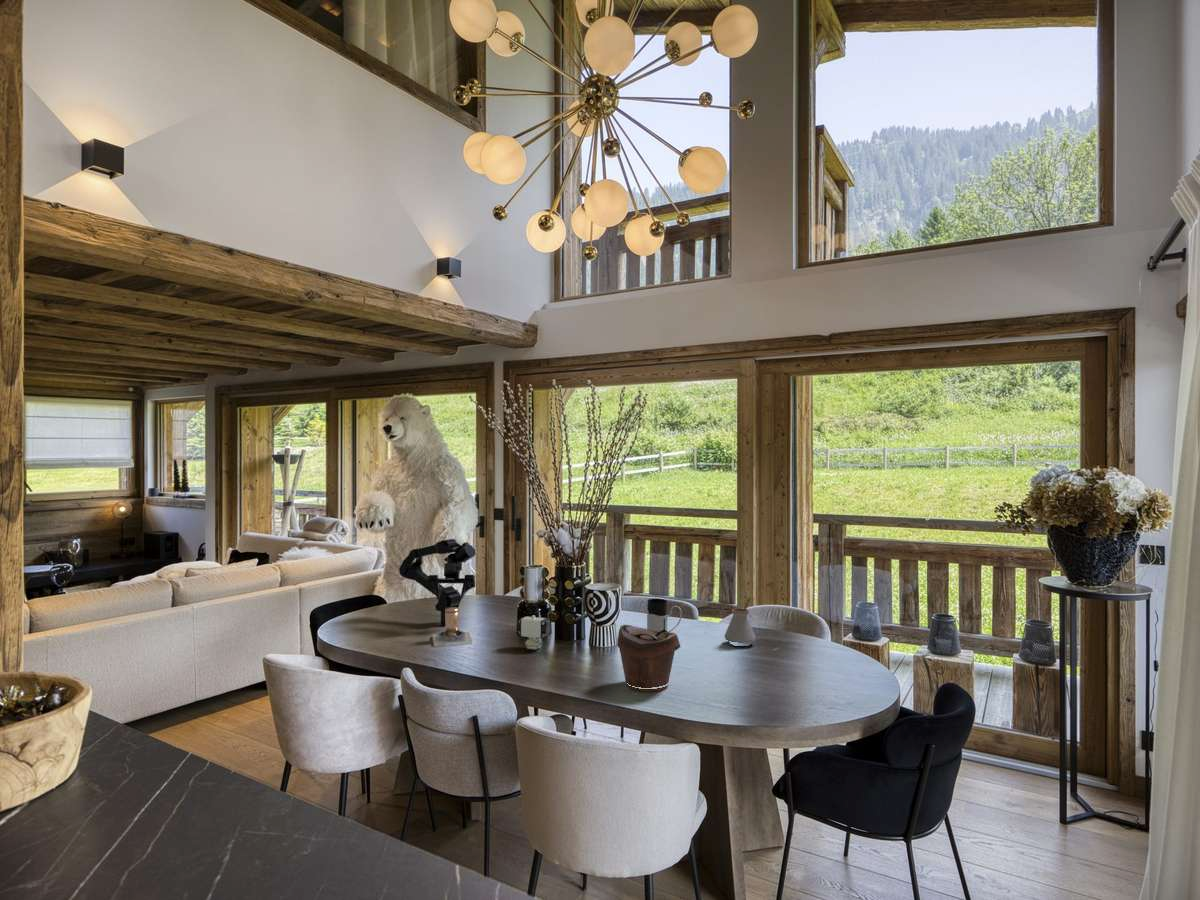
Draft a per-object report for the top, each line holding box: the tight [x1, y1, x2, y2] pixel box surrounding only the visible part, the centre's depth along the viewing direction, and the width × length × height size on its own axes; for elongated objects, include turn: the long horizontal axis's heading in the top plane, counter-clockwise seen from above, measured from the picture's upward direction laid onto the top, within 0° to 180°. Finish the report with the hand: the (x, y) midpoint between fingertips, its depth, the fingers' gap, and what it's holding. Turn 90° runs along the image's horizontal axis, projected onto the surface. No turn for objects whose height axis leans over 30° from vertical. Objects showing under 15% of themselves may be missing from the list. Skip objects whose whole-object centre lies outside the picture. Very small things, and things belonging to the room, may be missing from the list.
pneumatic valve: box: [515, 615, 551, 651], centre depth 253 cm, size 6×12×12 cm, turn 72°
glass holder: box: [646, 598, 683, 633], centre depth 264 cm, size 9×14×15 cm, turn 64°
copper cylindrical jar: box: [444, 607, 460, 636], centre depth 263 cm, size 5×5×11 cm
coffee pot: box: [724, 597, 757, 643], centre depth 263 cm, size 21×12×15 cm, turn 154°
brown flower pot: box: [617, 624, 681, 693], centre depth 212 cm, size 18×20×18 cm
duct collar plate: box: [431, 630, 473, 647], centre depth 263 cm, size 14×14×2 cm
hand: (449, 599), depth 273 cm, fingers open, 9 cm apart
